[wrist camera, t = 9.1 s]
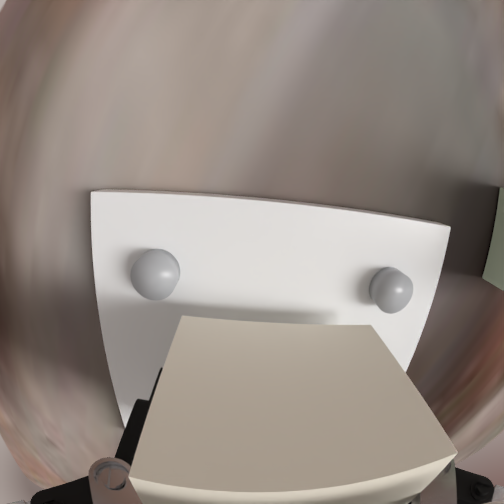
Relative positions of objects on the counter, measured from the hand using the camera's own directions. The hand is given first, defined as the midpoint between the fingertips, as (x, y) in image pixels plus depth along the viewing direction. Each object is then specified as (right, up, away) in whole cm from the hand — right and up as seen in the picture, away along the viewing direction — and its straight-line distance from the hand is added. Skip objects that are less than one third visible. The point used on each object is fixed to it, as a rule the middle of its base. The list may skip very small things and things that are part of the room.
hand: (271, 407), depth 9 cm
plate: (0, +1, +3) cm, 3 cm away
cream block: (0, 0, +1) cm, 1 cm away
